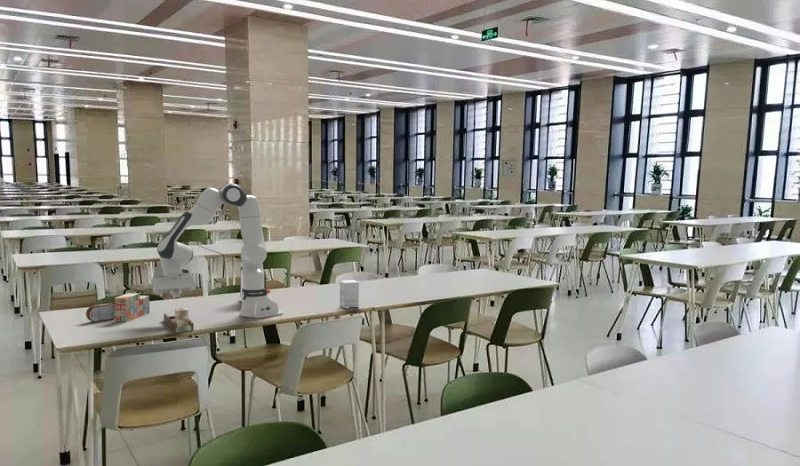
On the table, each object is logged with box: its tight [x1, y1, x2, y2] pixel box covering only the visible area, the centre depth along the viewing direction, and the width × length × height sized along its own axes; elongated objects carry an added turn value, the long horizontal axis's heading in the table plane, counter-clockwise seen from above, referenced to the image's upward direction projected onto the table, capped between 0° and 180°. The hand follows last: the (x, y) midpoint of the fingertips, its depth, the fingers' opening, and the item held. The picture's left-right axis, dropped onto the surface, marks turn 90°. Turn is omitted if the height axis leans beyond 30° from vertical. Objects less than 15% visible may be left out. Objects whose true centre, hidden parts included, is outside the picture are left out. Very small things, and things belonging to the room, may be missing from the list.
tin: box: [85, 302, 115, 323], centre depth 300 cm, size 15×3×8 cm, turn 141°
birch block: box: [174, 307, 189, 327], centre depth 286 cm, size 5×5×8 cm
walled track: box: [163, 313, 195, 333], centre depth 294 cm, size 9×26×4 cm, turn 31°
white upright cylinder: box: [237, 258, 267, 302], centre depth 352 cm, size 17×16×30 cm
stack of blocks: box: [114, 292, 151, 323], centre depth 309 cm, size 21×6×12 cm, turn 173°
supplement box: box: [339, 279, 360, 309], centre depth 346 cm, size 9×9×15 cm
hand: (177, 297), depth 297 cm, fingers closed
